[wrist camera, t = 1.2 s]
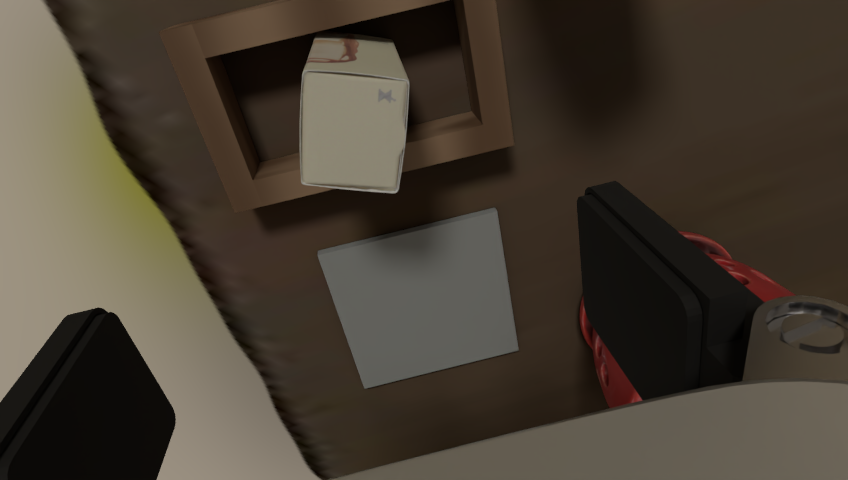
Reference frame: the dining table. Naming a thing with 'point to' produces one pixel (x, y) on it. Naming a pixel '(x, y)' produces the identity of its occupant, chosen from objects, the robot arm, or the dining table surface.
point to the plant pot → (608, 369)
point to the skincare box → (353, 113)
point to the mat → (423, 297)
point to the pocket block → (307, 13)
